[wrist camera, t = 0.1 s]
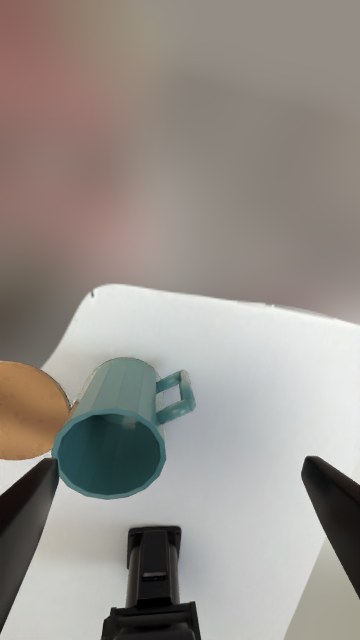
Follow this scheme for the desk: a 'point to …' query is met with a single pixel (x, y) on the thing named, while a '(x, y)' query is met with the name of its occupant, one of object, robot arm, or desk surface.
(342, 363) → the desk surface
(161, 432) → the mug
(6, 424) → the cork coaster
